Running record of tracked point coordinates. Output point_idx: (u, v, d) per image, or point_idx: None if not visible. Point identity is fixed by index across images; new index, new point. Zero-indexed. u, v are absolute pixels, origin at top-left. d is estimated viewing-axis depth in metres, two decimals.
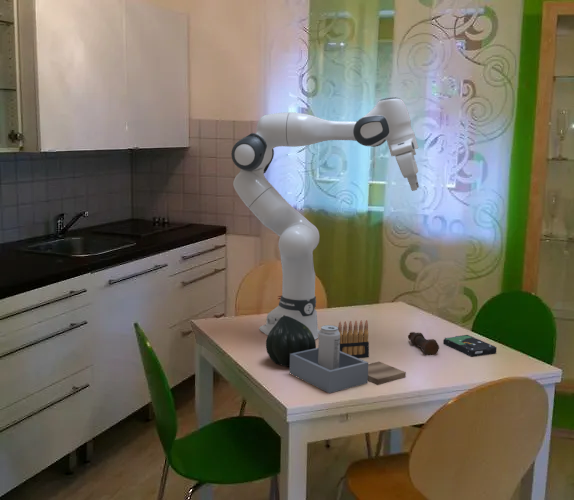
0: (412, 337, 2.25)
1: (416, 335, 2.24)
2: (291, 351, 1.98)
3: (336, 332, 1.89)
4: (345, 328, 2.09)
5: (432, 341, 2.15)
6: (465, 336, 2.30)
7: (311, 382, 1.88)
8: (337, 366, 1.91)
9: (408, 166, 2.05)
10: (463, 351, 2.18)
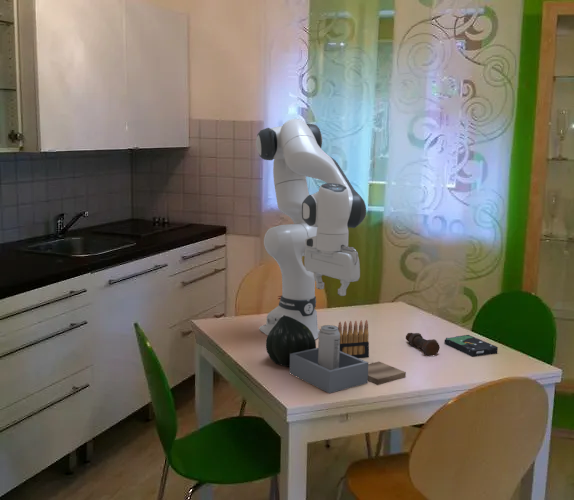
0: (411, 338, 2.24)
1: (415, 335, 2.23)
2: (291, 351, 1.98)
3: (336, 332, 1.89)
4: (345, 328, 2.09)
5: (433, 341, 2.15)
6: (466, 336, 2.30)
7: (311, 382, 1.88)
8: (337, 366, 1.91)
9: None
10: (464, 351, 2.18)
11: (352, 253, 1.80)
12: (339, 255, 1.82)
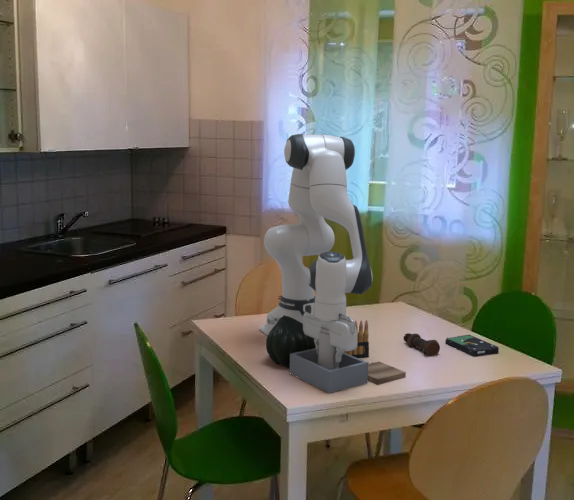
0: (409, 338, 2.23)
1: (413, 336, 2.23)
2: (291, 351, 1.98)
3: None
4: None
5: (434, 342, 2.14)
6: (467, 336, 2.30)
7: (311, 382, 1.88)
8: (337, 366, 1.91)
9: None
10: (465, 351, 2.18)
11: (350, 323, 1.83)
12: (337, 324, 1.85)
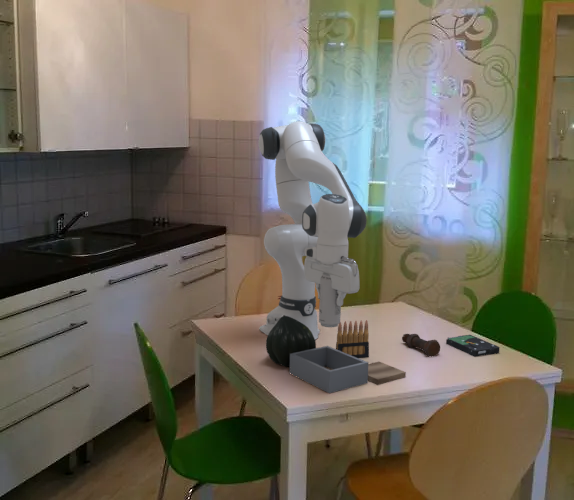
0: (409, 339, 2.22)
1: (413, 336, 2.22)
2: (291, 351, 1.98)
3: None
4: (345, 328, 2.09)
5: (434, 342, 2.14)
6: (468, 336, 2.30)
7: (311, 382, 1.88)
8: (339, 312, 1.89)
9: None
10: (466, 351, 2.18)
11: (352, 265, 1.80)
12: (339, 266, 1.82)
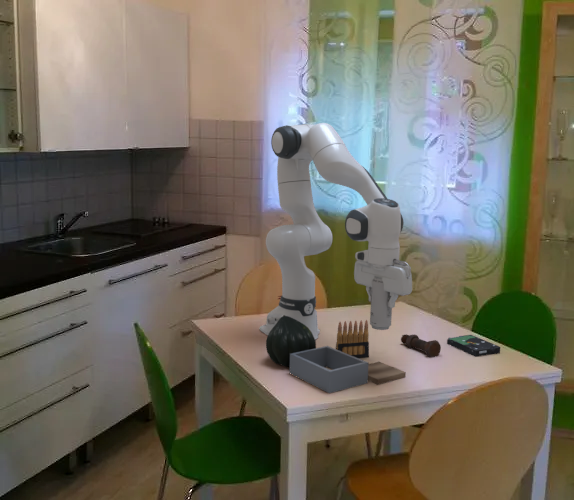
0: (408, 340, 2.22)
1: (412, 337, 2.22)
2: (291, 351, 1.98)
3: None
4: (345, 328, 2.09)
5: (435, 342, 2.14)
6: (468, 336, 2.30)
7: (311, 382, 1.88)
8: (390, 315, 1.92)
9: None
10: (467, 351, 2.19)
11: (405, 267, 1.84)
12: (391, 269, 1.86)
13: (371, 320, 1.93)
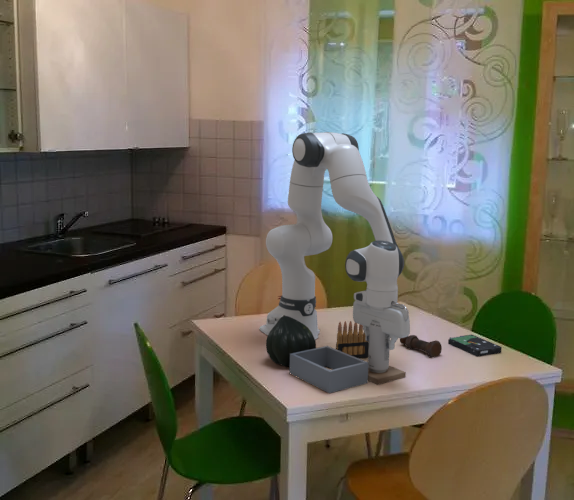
0: (408, 340, 2.21)
1: (412, 338, 2.21)
2: (291, 351, 1.98)
3: None
4: (345, 328, 2.09)
5: (436, 342, 2.14)
6: (470, 336, 2.30)
7: (311, 382, 1.88)
8: (388, 358, 1.94)
9: None
10: (468, 351, 2.19)
11: (403, 310, 1.86)
12: (390, 312, 1.88)
13: (369, 363, 1.95)
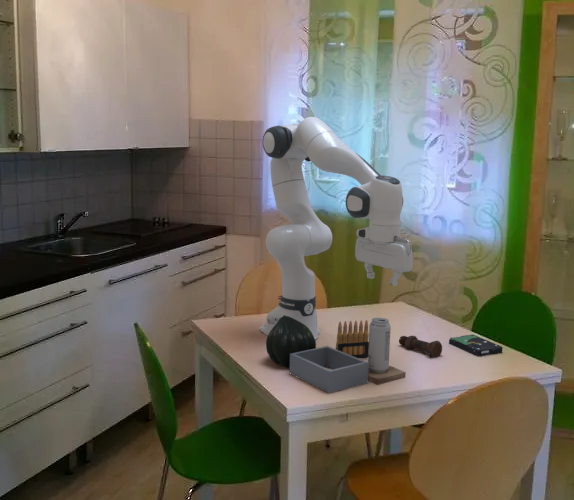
0: (408, 341, 2.20)
1: (412, 338, 2.20)
2: (291, 351, 1.98)
3: (387, 324, 1.92)
4: (345, 328, 2.09)
5: (437, 343, 2.13)
6: (470, 336, 2.30)
7: (311, 382, 1.88)
8: (388, 358, 1.94)
9: None
10: (469, 351, 2.19)
11: (406, 244, 1.84)
12: (392, 246, 1.87)
13: (369, 363, 1.95)
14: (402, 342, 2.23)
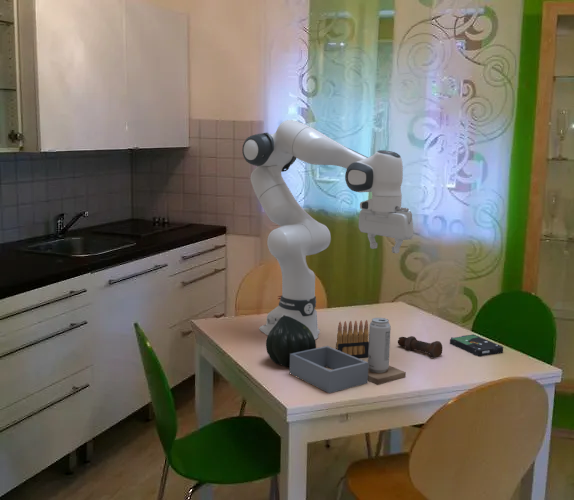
0: (407, 342, 2.19)
1: (411, 339, 2.19)
2: (291, 351, 1.98)
3: (387, 324, 1.93)
4: (345, 328, 2.09)
5: (438, 343, 2.13)
6: (471, 336, 2.30)
7: (311, 382, 1.88)
8: (388, 358, 1.94)
9: None
10: (470, 351, 2.19)
11: (406, 213, 1.97)
12: (394, 215, 1.99)
13: (369, 363, 1.95)
14: (401, 343, 2.22)
